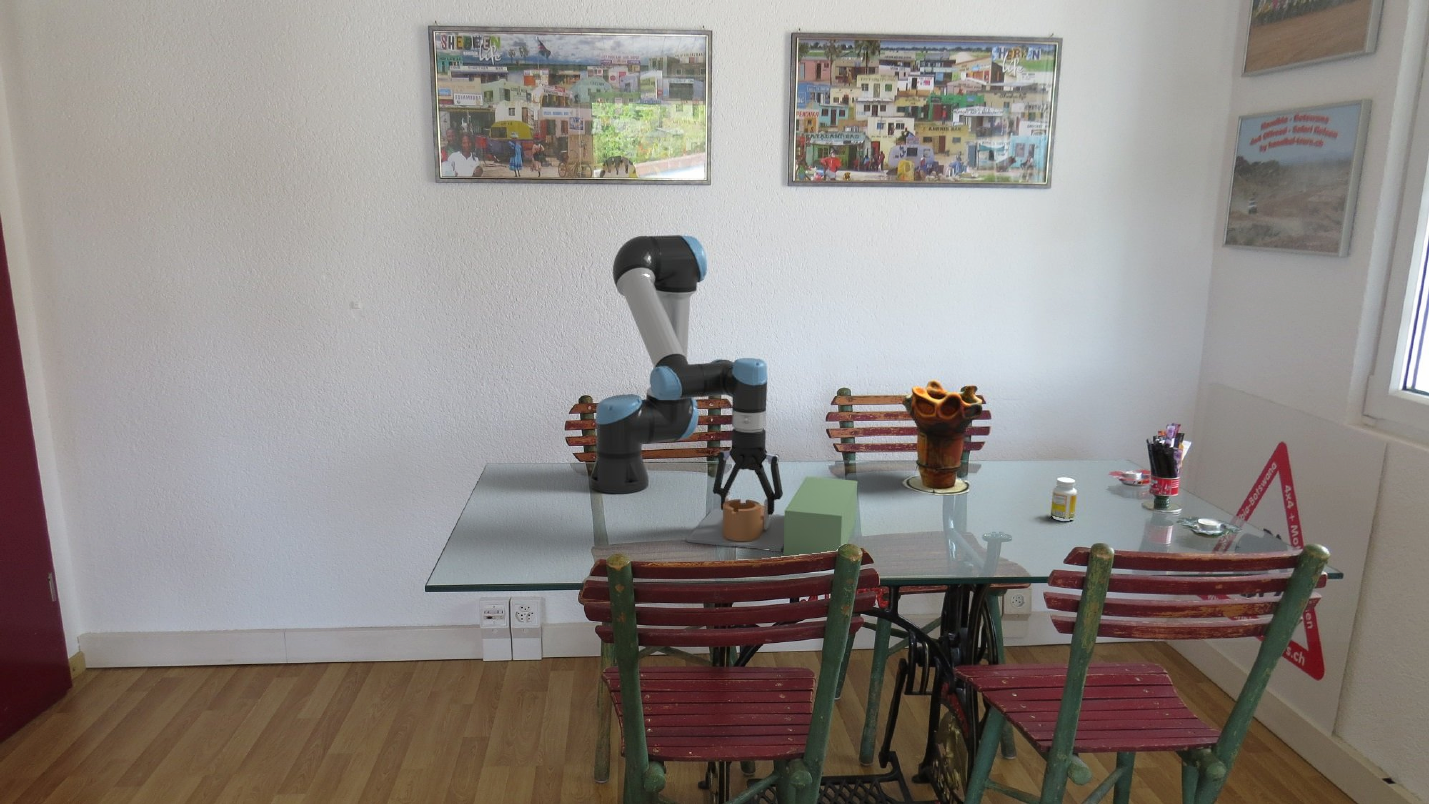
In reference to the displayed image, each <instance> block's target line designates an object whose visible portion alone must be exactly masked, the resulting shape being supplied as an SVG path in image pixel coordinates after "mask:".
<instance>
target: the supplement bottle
mask: <svg viewBox="0 0 1429 804" xmlns="http://www.w3.org/2000/svg"><path fill="white" fill-rule="evenodd" d="M1075 486H1076V480H1075V479H1073V478H1072V477H1071V478H1070V477H1057V479H1056V486H1054V487H1053V489H1052V498H1051V508H1050V516H1051V515H1052V516H1055V517H1059V518H1063V519H1070V518H1073V517H1074V518H1075V515H1076V514H1075V513H1076V506H1077V505H1076V504H1077V495H1078V490H1077V489H1075Z"/></svg>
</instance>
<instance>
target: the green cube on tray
mask: <svg viewBox="0 0 1429 804" xmlns="http://www.w3.org/2000/svg"><path fill="white" fill-rule="evenodd" d="M857 496H858V480H853V479H851V480H849V479H840V478H839V479H838V478H828V477H815V476H806V477H804V480H803V481H802V483H801V484H800V486H799V488H798V489H797V491H796V492H795V493H794V495H793V496H792V498H791V500H790V502H789V503H788V504H787V506H786V507H785V509H784V515H783V514H774V513H773V514H772V515H770V522H769V527H768V529H767V530H764V531H763V533H762V534H761V536H760V537H759V538H758V539H755V540H752V541H733V540H729V539H727V538H725V537H724V536H723V510H721V508H720V509H719V508H713V509H712V510H711V511H710V512H709V513H708V514H707V516H705V518H703V520H702V521H701V522H700V523H699V524H698V526H697V527H696V528H695V529H694V530H693V531H692V533H690V535H689V536H688V537H687V538H686V542H687V543H693V544H702V545H703V544H704V545H712V546H713V545H715V546H722V547H732V546H734V548H736V547H735V546H738V547H737V548H740V547H748V548H747V549H750V548H758V549H757V550H759V549H769V550H772V552H778V551H779V552H778V553H780V552H782V551H783V556H785V557H790V556H789V555H799V554H812V553H821V552H827V551H836V550H837V549H839V546H841V545H842V544H845V543H847V544H848V543H849V540H850V537H851V535H852V533H853V530H854V527H855V526H856V520H857V499H858V498H857ZM732 548H733V547H732ZM769 550H768V551H769Z"/></svg>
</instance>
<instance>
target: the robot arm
mask: <svg viewBox="0 0 1429 804" xmlns="http://www.w3.org/2000/svg"><path fill="white" fill-rule="evenodd" d="M707 272H708V263H707V255H706V252H705V249H704V248H703V245H702V243H701V242H700V241H699V240H698V238H696V237H694V236H692V235H691V236H690V235H681V234H674V235H672V234H671V235H640V236H634V237H633V238H630V239H629V240H627V241H626V242H625V243H624V244H623V245H622V246H621V247H620V248H619V250H618V252H617V253H616V255H615V257H614V261H613V265H612V277H613V282H614V285H615V288H616V291H617V292H618V293H619V294H620V295H621V296H623V297H624V298H625V300H626V303H627V306H628V307H629V310H630V313H631V316H632V318H633V319H634V320H633V321H634V323H635V325H636V328H637V329H638V331H639V334H640V337H641V339H642V342H643V343H644V345H645V349H646V351H647V354H648V356H649V359H650V360H651V363H652V365H653V369H652V370H651V371H650V376H649V385H650V386H649V387H648V388H647V389H646V398H644V399H642V398H641V395H638V394H633V393H628V394H616V395H613V396H609V397H606V398H604V399H602V400H601V401H599V402H598V403H597V405H596V411H595V412H596V413H595V414H596V415H595V419H594V421H595V429H596V430H595V435H596V437H595V438H596V441H595V443H596V458H595V462H594V465H593V468H592V472H591V475H590V481H589V483H590V488H591V489H593V491H597V492H600V493H605V494H631V493H636V492H640V491H643V490H645V489H647V488H648V487H649V475H648V472H647V469H646V465H645V463H644V460H643V459H644V458H643V456H642V455H643V453H642V450H643V449H642V448H643V446H642V445H650V444H655V443H656V444H657V443H668V442H677V441H681V440H682V441H683V440H687V439H689V438H690V437H691V436H692V435H693V434H694V433H695V431H696V430H697V426H698V422H699V416H700V415H699V409H698V403H697V402H698V401H697V400H696V399H695V398H705V397H714V396H729V397H731V398H732V400H731V401H732V402H731V403H732V407H731V408H732V409H731V411H732V412H731V418H732V419H731V425H732V427H733V429H732V430H731V448H730V450H725V449H720V450H719V452H717V461H718V465H717V468H716V473H715V478H714V482H713V483H714V484H713V487H712V493H713V494H716V495H719V496H720V509H721V510H723V504H724V503H725V502H726V501H729V500H732V494H729V493H730V492H729V491H731V488H732V485H733V483H734V481H735V479H736V478H737V475H738V473H740V470H749V471H754V474H756V475H757V478H758V480H759V483H760V485H761V487H762V490H763V493H764V494H765V496H766V497H765V498H766V499H765V500H764V501H763V502H764V503H763V506H764V529H765V530H767V529H768V527H769V522H770V515H772V514H774V513H775V501H777V500H781V498H782V497H783V494H784V492H783V487H782V480H781V475H780V469H779V460H780V455H779V454H778V453H775V454H771V453H768V452H767V450H766V449H767V447H766V441H767V440H766V438H767V437H766V435H767V434H766V433H767V431H766V430H765V428H767V398H768V397H767V396H768V395H767V394H768V377H769V376H768V366H767V363H766V361H765V360H763V359H760V358H756V357H755V358H753V357H741V358H737V359H735V360H734V361H731V360H729V359H722V358H717V359H713V360H712V361H711V362H705V363H694V364H693V363H692V364H691V363H689V362H688V348H689V347H688V346H689V327H690V309H691V308H690V307H691V297H692V296H693V295H695V293H696V292H697V287H698V285H697V284H698V283H701V282H703V281H704V280H705V278H706V275H707ZM729 458H731V460H733V462H734V465H733V467H732V469H731V472H730V473H729V476H728V478H727V480H726V482H725V483H724V485H723V488H722V484H723V479H724V474H725V470H726V464H727V461H728V460H729ZM765 460H767V462H768V464H769V465H770V472H771V478H772V479H771V480H772V484H773V485H771V483H770V481H769V478H768V476H767V473H766V471H765V468H764V467H765V466H764V464H763V462H764V461H765ZM772 486H773V488H772Z"/></svg>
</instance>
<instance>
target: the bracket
mask: <svg viewBox="0 0 1429 804" xmlns="http://www.w3.org/2000/svg"><path fill="white" fill-rule="evenodd" d="M741 500H742V499H740V498H739V499H738V498H737V499H731V500H729V501H726V502H725V503H724V504H723V536H724V537H725V538H727V539H729V540H733V541H752V540H755V539H758V538H759V537H760V536H761V534H762V533H763V531H764V530H765V529H764V505H762V504H761V503H760V502H758V501H756V500H753V499H752V500H751V499H746V500H745V502H742V501H741Z"/></svg>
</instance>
